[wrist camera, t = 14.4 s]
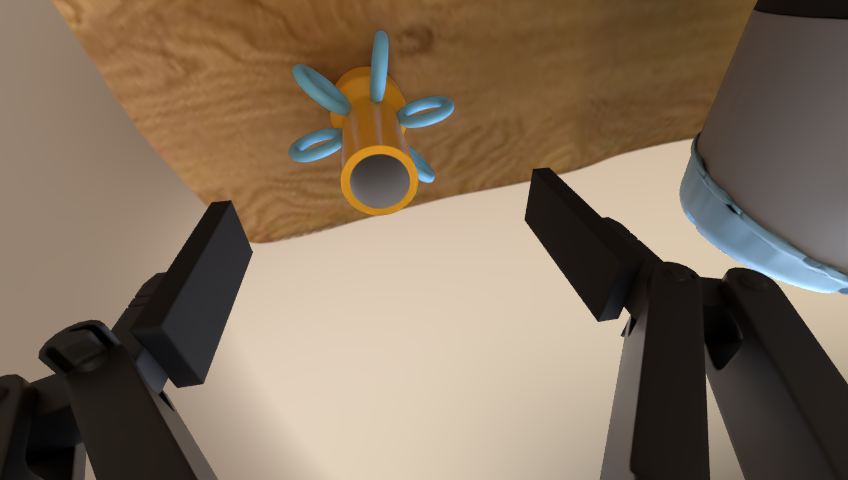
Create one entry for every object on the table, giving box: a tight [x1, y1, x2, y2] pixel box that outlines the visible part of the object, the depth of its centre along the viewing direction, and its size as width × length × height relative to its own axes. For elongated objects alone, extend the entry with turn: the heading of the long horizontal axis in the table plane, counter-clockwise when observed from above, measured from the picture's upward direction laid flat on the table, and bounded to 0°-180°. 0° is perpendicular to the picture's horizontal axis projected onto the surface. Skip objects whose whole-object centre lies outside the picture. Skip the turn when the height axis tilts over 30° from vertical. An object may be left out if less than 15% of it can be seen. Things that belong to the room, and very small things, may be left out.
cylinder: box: [289, 31, 454, 215], centre depth 24 cm, size 12×10×15 cm
